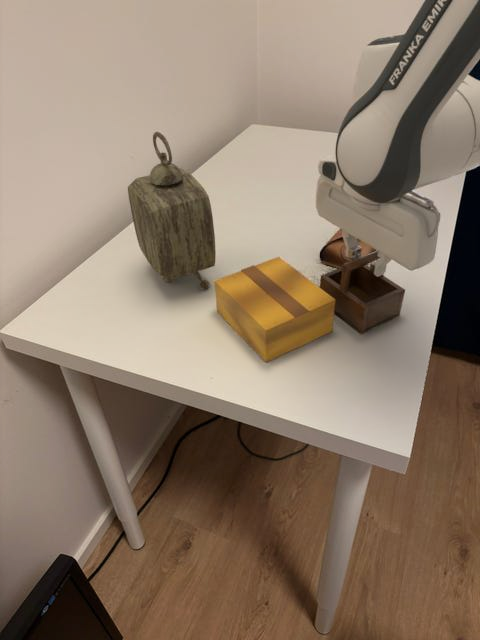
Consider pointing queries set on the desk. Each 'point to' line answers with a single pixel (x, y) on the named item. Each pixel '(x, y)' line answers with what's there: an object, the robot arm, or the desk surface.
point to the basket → (362, 294)
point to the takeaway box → (274, 307)
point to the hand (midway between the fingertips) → (364, 265)
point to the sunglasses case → (340, 251)
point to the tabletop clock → (173, 219)
